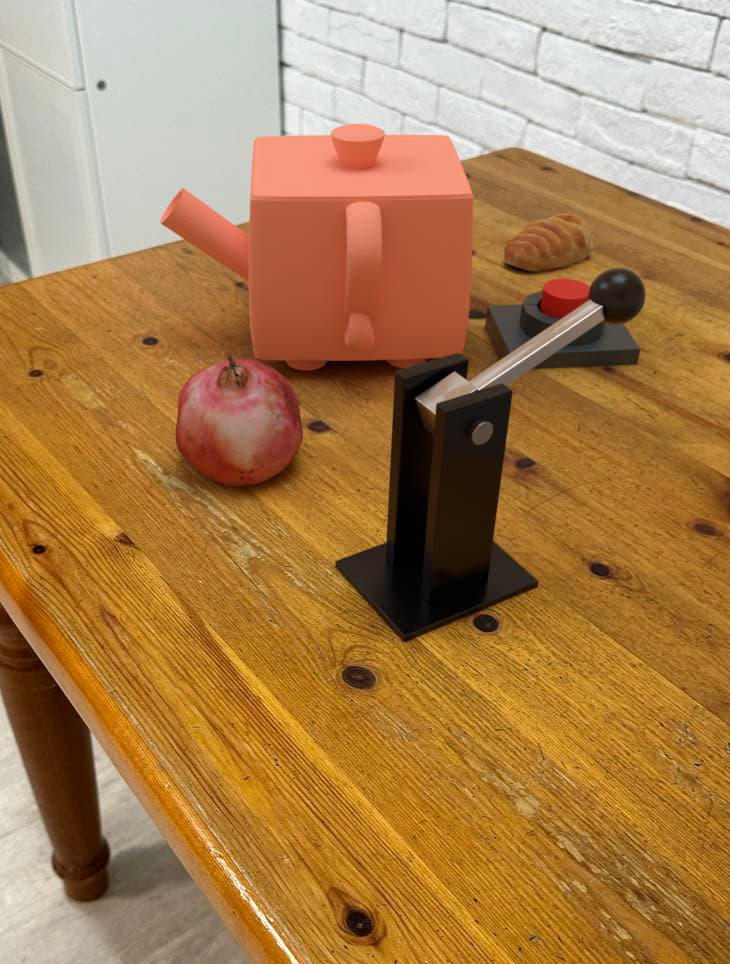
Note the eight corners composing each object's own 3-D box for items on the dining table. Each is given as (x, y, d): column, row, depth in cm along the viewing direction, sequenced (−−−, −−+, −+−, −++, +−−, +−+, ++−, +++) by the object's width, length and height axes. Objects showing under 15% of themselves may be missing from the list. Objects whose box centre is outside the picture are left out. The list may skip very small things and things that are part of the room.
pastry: (537, 283, 101) (542, 245, 99) (485, 262, 105) (488, 225, 103) (596, 257, 106) (603, 220, 104) (544, 238, 110) (549, 202, 108)
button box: (604, 323, 95) (611, 281, 92) (635, 372, 88) (645, 329, 85) (484, 327, 94) (489, 286, 92) (507, 377, 87) (512, 334, 85)
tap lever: (621, 293, 63) (616, 249, 60) (659, 314, 60) (656, 269, 58) (420, 429, 60) (407, 388, 58) (453, 456, 58) (441, 414, 56)
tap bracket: (461, 527, 71) (482, 329, 62) (536, 595, 66) (572, 389, 56) (334, 575, 67) (337, 371, 58) (403, 651, 62) (418, 439, 52)
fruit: (228, 421, 82) (221, 302, 75) (328, 460, 77) (329, 338, 71) (148, 476, 76) (133, 352, 69) (252, 522, 71) (245, 394, 65)
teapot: (160, 405, 83) (135, 182, 72) (181, 283, 101) (164, 89, 90) (472, 400, 84) (495, 178, 73) (438, 280, 102) (453, 87, 91)
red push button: (580, 299, 90) (584, 277, 89) (593, 320, 87) (597, 298, 86) (535, 301, 90) (538, 279, 89) (546, 322, 87) (550, 299, 86)
